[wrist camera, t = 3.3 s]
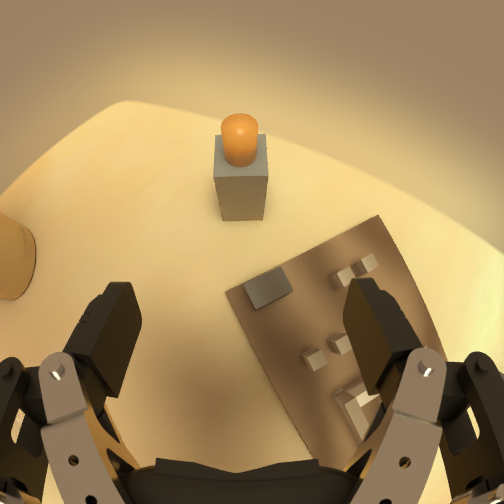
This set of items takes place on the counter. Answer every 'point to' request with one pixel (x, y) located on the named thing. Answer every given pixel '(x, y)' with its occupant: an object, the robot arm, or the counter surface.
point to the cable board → (326, 334)
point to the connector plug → (241, 169)
